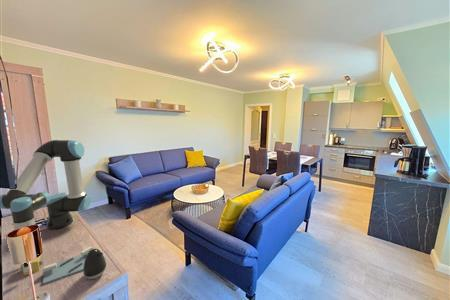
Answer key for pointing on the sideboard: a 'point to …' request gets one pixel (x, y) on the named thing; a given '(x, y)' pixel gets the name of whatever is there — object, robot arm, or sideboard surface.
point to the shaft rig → (65, 267)
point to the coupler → (34, 265)
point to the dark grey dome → (94, 264)
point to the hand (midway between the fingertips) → (30, 262)
